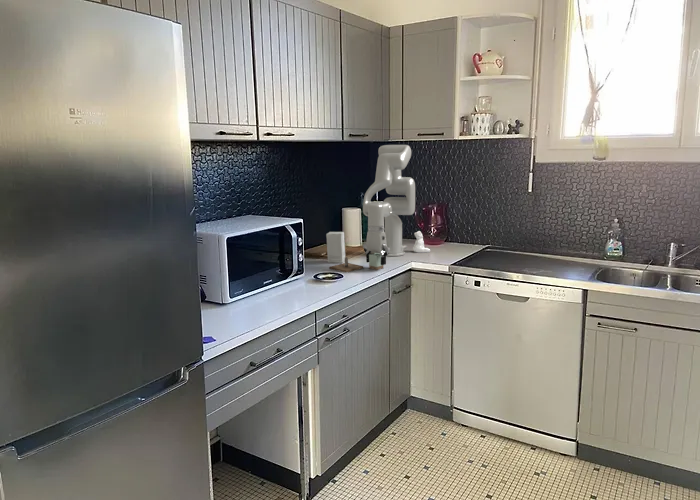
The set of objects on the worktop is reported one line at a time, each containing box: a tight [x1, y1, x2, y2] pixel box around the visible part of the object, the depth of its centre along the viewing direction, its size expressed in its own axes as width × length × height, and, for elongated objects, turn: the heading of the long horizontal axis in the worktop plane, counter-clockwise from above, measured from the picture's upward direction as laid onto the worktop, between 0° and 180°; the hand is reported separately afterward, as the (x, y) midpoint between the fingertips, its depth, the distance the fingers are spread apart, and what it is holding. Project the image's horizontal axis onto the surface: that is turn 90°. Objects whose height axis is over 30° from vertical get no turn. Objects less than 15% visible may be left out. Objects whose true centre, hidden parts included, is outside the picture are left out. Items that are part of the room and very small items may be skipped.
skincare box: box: [325, 231, 346, 264], centre depth 280 cm, size 8×7×16 cm
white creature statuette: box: [412, 230, 431, 254], centre depth 302 cm, size 10×9×12 cm
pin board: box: [328, 256, 365, 273], centre depth 266 cm, size 12×12×6 cm
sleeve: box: [368, 252, 384, 271], centre depth 265 cm, size 5×5×7 cm
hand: (376, 263), depth 265 cm, fingers open, 9 cm apart
